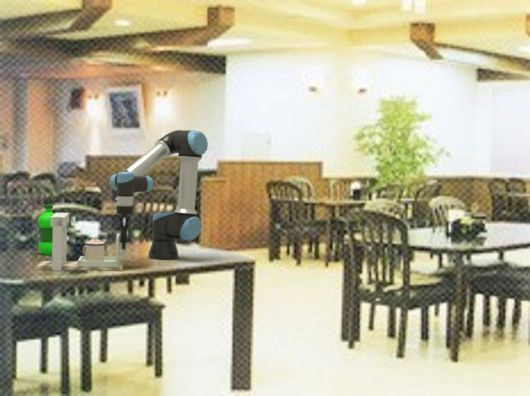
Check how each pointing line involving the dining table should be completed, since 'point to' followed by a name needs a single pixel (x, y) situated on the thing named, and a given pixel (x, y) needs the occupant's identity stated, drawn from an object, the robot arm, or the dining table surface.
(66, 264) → the press track
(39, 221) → the plastic bottle
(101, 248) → the teacup with lid
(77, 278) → the dining table surface
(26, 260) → the dining table surface
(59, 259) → the press frame
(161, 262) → the dining table surface
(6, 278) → the dining table surface
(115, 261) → the press carriage
